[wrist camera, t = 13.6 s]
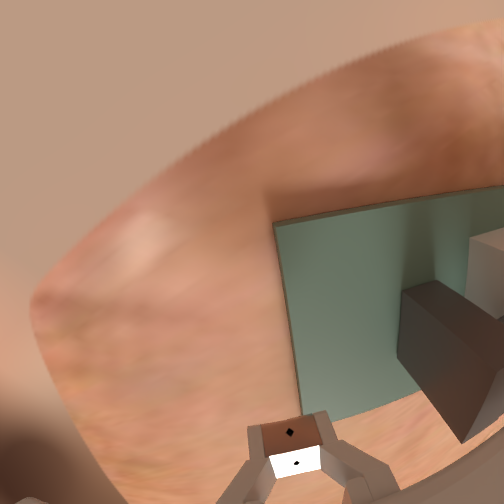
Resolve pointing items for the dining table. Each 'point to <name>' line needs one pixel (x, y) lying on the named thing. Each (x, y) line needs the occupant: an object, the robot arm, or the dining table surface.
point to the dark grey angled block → (453, 356)
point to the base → (380, 288)
